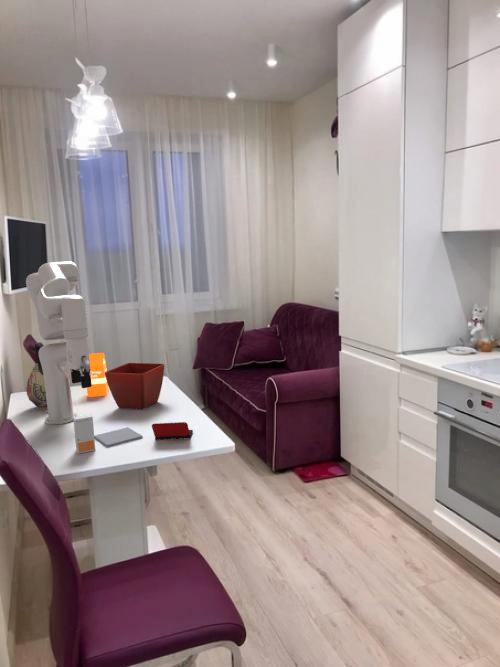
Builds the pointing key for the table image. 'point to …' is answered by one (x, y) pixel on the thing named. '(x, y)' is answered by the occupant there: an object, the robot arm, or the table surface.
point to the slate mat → (117, 437)
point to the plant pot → (135, 384)
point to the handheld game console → (171, 431)
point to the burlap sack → (37, 382)
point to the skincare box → (84, 433)
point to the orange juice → (98, 376)
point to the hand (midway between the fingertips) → (81, 385)
